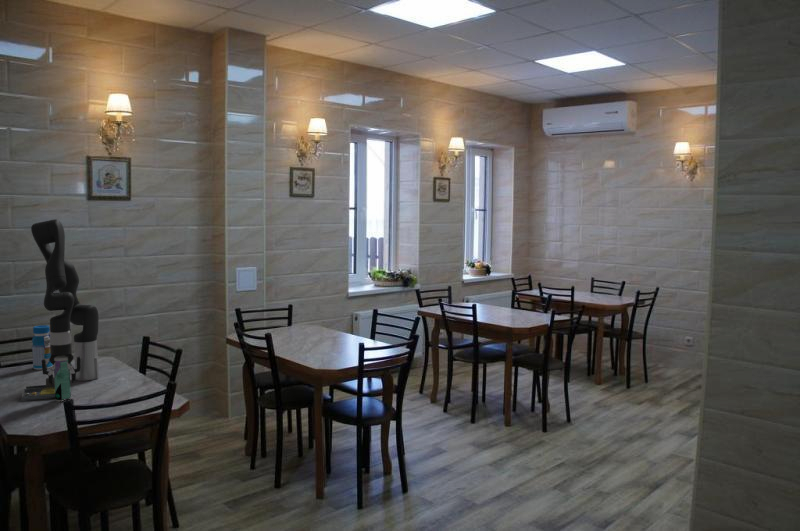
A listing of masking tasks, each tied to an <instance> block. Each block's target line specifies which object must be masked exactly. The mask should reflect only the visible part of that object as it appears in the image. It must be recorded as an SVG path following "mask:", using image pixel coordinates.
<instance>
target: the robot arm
mask: <svg viewBox="0 0 800 531" xmlns="http://www.w3.org/2000/svg"><path fill="white" fill-rule="evenodd" d="M30 227H31V228H30V229H31V230H30V232H31V235H32V237H33V240H34V241H35V243H36V245H37V247H38V248H39V251H40V253H41V255H42V256H43V258H44V260H45V262H46V265H45V269H44V271H45V280H46V282H45V283H46V287H45V288H46V290H45V294H44V299H43V306H44V308H45V309H46V310H47V311H51V312H52V311H63V312H62V313H61V314H58V315H55V316H51V318H49V329H50V332H49V335H50V354H51V356H50V358H48V359H45V358H43V359H42V375H45V376H48V377H47V378H49V383H51V385H53V377H54V369H55V363H54V358H55V357H57V356H67V357H68V362H67V361H66V363H67V364H68V365H67V368H68V369H69V370H70V372H71V373H70V379H71V384H74V383H75V382H76V381H84V382H86V381H92V380H97V379H98V378H99V375H100V373H99V355H98V334H99V316H100V315H99V311H98V309H97V306H95V305H92V304H81V303H80V301H79V298H78V295H77V290H78V288H79V285H80V278H79V275H78V272H77V270H76V267H75V265H74V264H73V262H70V260H68V259H67V258H65V254H66V253H65V250H66V248H65V247H66V246H65V240H66V235H65V228H64V226H63V224H62V222H61V221H60V220H59V219H57V218H56V219H50V220H45V221H41V222H36V223H33V224H32V225H31V226H30ZM53 243H54V246H53V247H52V246H51V245H50V244H53ZM56 291H59V292H56ZM71 324H73V325H75V326H82V331H80V332H79V333H75V334H74V336H73V342H72V334H71V333H72V332H71ZM72 343H73V344H72ZM72 345H73V346H72ZM72 349H73V350H72ZM73 351H74V352H73ZM73 353H74V355H73ZM73 360H74V366H73V364H72V362H73ZM48 361H50V362H51V363H52V364H53V366H52V367H51V368H50V370H48V369H47V365H46V364H48Z"/></svg>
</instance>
